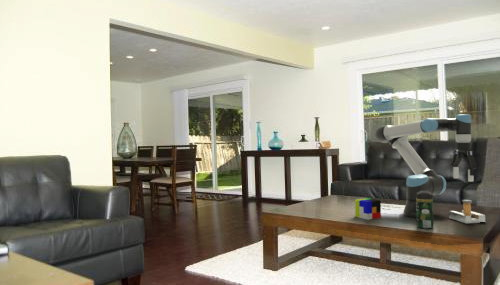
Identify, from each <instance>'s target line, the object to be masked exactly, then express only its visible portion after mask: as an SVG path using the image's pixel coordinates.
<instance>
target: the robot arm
mask: <svg viewBox="0 0 500 285" xmlns="http://www.w3.org/2000/svg"><path fill="white" fill-rule="evenodd" d="M434 132H435V133H436V132H438V133H439V132H440V133H441V132H443V133H444V132H455V149H454V151H453V156H452V159H451V162H450V166H451V167H452V171H453V174H452V175H453V176H452V177H453V179H459V178H460V176H459V175H460V174H459V172H460V169H459V165H460V163H461V161H462V160H464V162H465V163H466V165H467V167H468V169H467V182H468V183H470V182H472V183H473V182H474V181H475V178H474V177H475V176H474V174H475V170H476V169H478V166H477V163H476V159H475V155H474V151H473V150H471V149H472V142H471V141H472V115H471V114H469V113H468V114H467V113H466V114H465V113H464V114H456V115H455V117H454V118H453V117H452V118H451V117H450V118H443V117H442V118H440V117H439V118H436V117H435V118H432V117H429V118H424V119H423V120H422V119H421V120H417V121H412V122H411V121H410V122H407V123H402V124H394V125H389V124H387V125H381V126H379V127H377V128H376V130H375V133H374V135H375V136H374V137H375V139H376V141H378V142H380V143H382V144H389V145H390V146H391V147H392V149H396V150H397V152H398V153H399V155H400V156H401V157H402V159H403V160H404V162H405V163H406V164H407V165H408V167H409V168H410V169H411V171H412V172H413V173H414V174H412V175H408V177H406V182H405V185H406V186H405V188H406V203H405V206H404V207H403V208H404V209H403V216H406V217H411V218H417V212H416V194H417V192H420V191H429V192H431V193H432V194H433V196H438V195H441V194H442V193H444V192H445V191H446V189H447V181H446V179H445V177H444V176H442V175H440V174H437V173H436V171H435V170H434V169H430V168H429V167H428V165H427V164H426V163H425V161H423V159H422V158H421V156H420V155H419V154H418V153H417V151H416V150H415V149H414V147H413V146H412V145H411V143H410V142H409V136H413V135H421V134H426V133H427V134H428V133H434Z"/></svg>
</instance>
